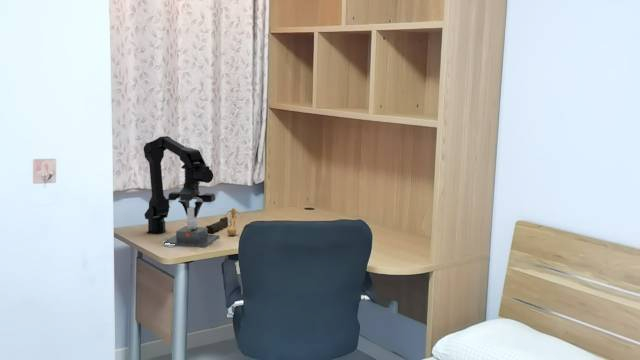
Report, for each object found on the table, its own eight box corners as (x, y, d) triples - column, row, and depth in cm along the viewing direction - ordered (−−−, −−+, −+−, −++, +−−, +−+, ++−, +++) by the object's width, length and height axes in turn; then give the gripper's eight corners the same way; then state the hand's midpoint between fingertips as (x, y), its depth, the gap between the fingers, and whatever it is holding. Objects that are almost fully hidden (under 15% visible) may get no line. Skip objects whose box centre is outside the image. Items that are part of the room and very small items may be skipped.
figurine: (221, 236, 308) (221, 208, 306) (225, 233, 314) (225, 206, 312) (239, 237, 306) (239, 209, 304) (243, 234, 312) (243, 207, 310)
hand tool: (212, 234, 311) (212, 224, 310) (204, 233, 312) (204, 223, 311) (233, 226, 328) (233, 216, 328) (225, 225, 330) (225, 216, 329)
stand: (163, 244, 290) (163, 231, 290) (179, 235, 308) (179, 222, 307) (205, 247, 287) (205, 233, 286) (219, 237, 305) (219, 224, 304)
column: (187, 229, 296) (186, 208, 294) (189, 228, 299) (189, 206, 297) (194, 230, 295) (194, 208, 294) (197, 228, 298) (196, 207, 297)
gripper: (162, 182, 287) (163, 219, 290) (206, 184, 284) (206, 222, 287) (173, 178, 298) (173, 214, 301) (215, 180, 295) (215, 216, 297)
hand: (192, 217), depth 296 cm, fingers closed on column, 3 cm apart
